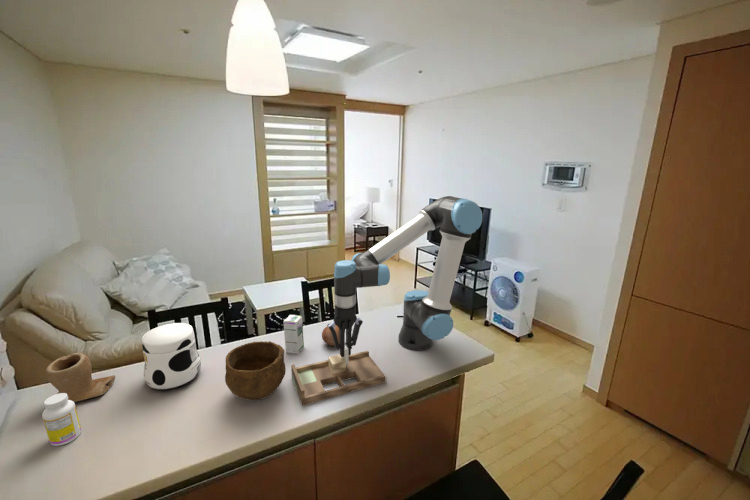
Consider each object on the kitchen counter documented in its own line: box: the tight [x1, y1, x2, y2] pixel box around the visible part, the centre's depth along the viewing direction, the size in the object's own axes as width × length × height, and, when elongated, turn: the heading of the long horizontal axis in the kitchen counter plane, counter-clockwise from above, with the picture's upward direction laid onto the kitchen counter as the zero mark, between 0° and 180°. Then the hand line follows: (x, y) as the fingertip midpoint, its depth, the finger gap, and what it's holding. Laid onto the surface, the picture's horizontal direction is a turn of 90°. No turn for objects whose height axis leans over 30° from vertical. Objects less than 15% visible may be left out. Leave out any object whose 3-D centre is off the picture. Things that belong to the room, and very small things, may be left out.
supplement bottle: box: [41, 393, 82, 447], centre depth 93 cm, size 7×7×13 cm
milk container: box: [141, 322, 202, 391], centre depth 118 cm, size 17×17×18 cm
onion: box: [321, 325, 339, 348], centre depth 144 cm, size 10×9×10 cm
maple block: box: [327, 354, 346, 374], centre depth 123 cm, size 5×5×4 cm
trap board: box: [290, 350, 387, 407], centre depth 121 cm, size 30×16×6 cm, turn 115°
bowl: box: [224, 341, 286, 401], centre depth 112 cm, size 19×19×15 cm
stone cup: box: [45, 352, 116, 403], centre depth 109 cm, size 15×12×15 cm
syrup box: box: [283, 314, 305, 355], centre depth 138 cm, size 6×6×14 cm
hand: (345, 363), depth 125 cm, fingers closed
